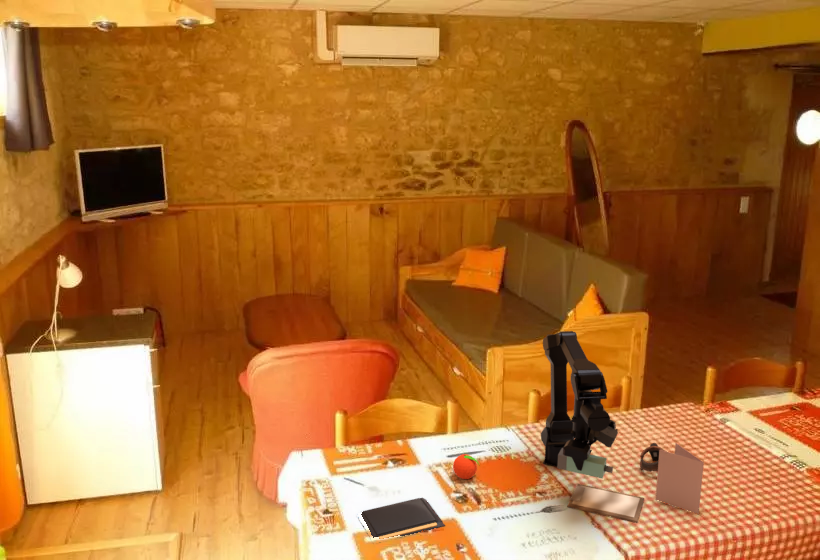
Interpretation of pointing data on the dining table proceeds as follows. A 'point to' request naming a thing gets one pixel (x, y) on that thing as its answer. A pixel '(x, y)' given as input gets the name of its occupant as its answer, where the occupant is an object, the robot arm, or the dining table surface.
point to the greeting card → (679, 479)
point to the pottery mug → (654, 455)
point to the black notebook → (401, 518)
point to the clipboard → (606, 502)
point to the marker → (585, 465)
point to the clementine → (465, 466)
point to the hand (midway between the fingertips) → (581, 466)
